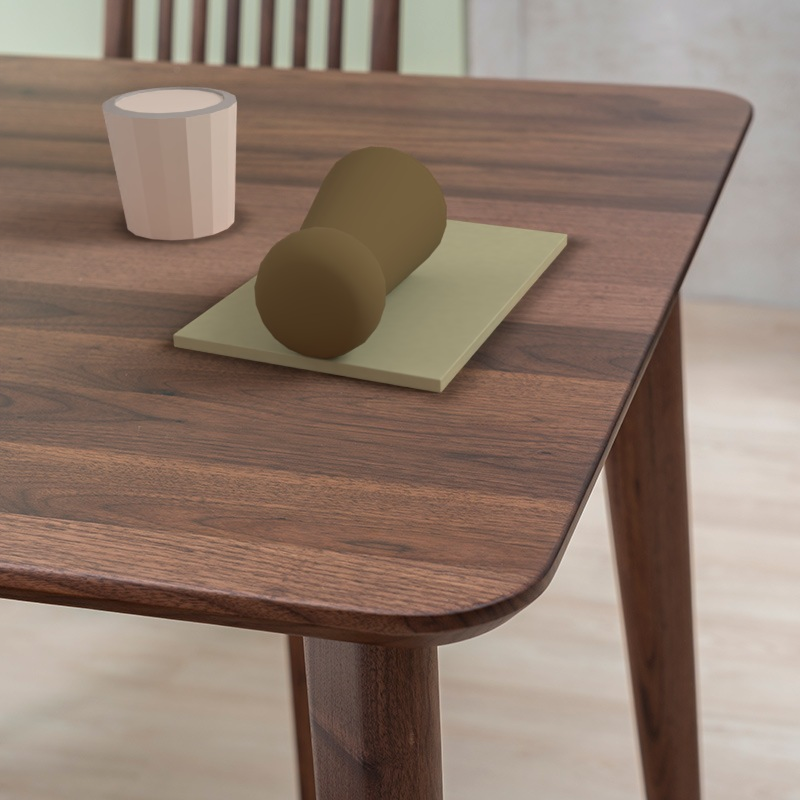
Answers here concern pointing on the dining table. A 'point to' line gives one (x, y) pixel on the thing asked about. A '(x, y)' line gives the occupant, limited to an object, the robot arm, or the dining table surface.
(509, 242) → the mat
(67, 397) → the dining table surface
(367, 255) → the cork
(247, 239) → the dining table surface
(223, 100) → the pale pink cup
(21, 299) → the dining table surface
